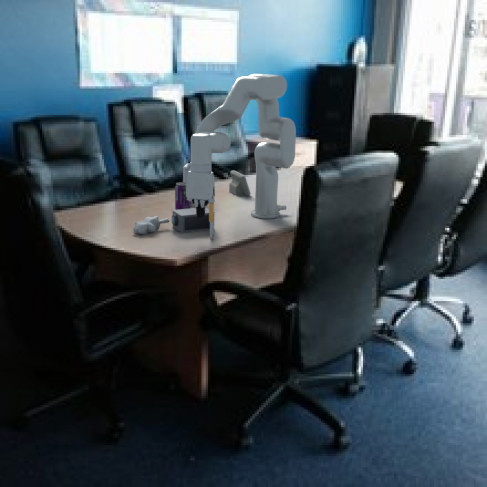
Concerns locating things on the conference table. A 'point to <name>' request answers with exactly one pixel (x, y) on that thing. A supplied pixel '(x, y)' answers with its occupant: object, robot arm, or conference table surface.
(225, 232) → the conference table surface
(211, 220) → the door
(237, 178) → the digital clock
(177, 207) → the beverage can
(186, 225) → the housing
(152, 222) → the bunny figurine
